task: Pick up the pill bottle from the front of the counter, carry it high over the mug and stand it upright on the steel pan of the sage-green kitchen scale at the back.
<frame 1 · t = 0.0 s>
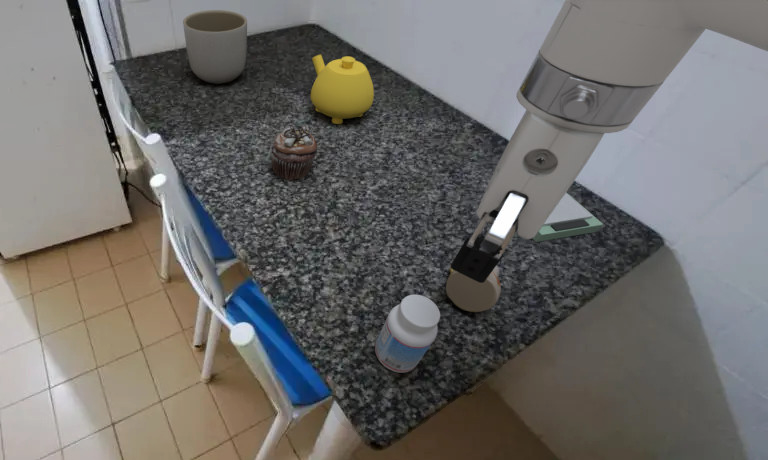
hand: (481, 244, 41), 22 cm above the table, tool pointing down, fingers open, 9 cm apart
mug: (467, 290, 63), on the table
teapot: (333, 108, 103), on the table
pill bottle: (395, 353, 55), on the table
planter: (218, 76, 115), on the table
scale: (541, 212, 76), on the table
cupcake: (291, 169, 84), on the table
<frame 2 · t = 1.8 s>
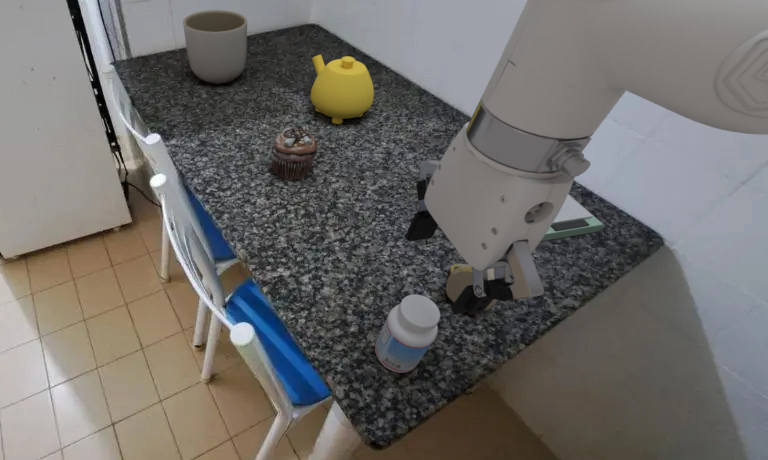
hand: (440, 270, 42), 19 cm above the table, tool pointing down, fingers open, 9 cm apart
nothing on the table moved.
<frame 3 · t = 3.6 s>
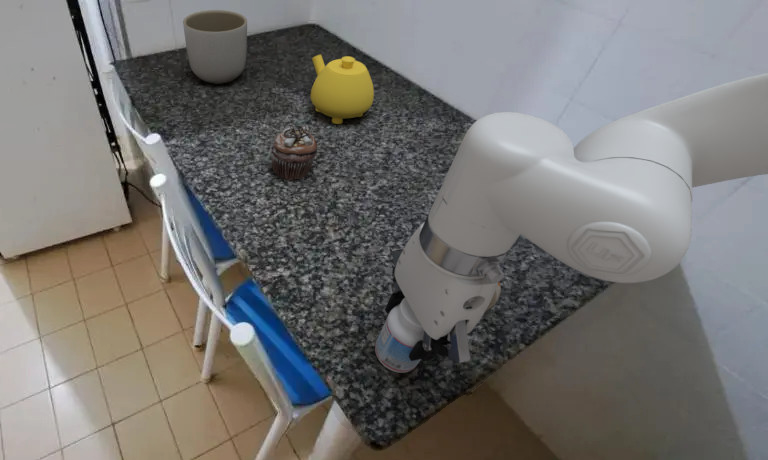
hand: (408, 331, 51), 6 cm above the table, tool pointing down, fingers closed on pill bottle, 6 cm apart
pill bottle: (395, 353, 55), on the table, touching gripper
everything else where it was.
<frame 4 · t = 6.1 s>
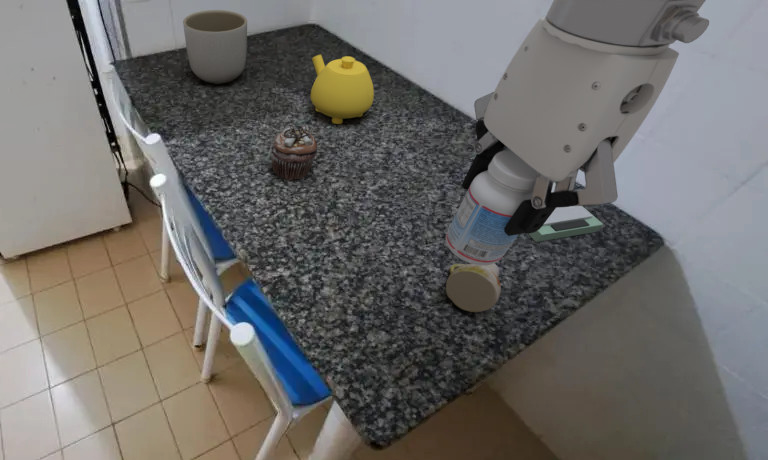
hand: (496, 206, 39), 25 cm above the table, tool pointing down, fingers closed on pill bottle, 6 cm apart
pill bottle: (471, 247, 44), point 19 cm above the table, touching gripper
everything else where it was.
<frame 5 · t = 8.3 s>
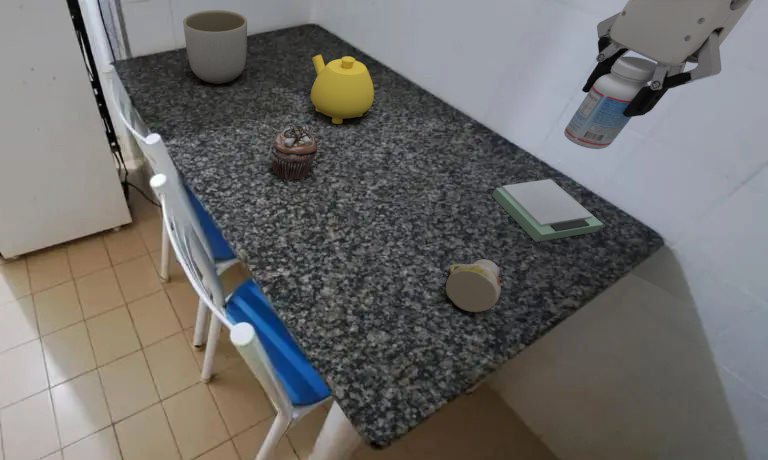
hand: (612, 101, 54), 26 cm above the table, tool pointing down, fingers closed on pill bottle, 6 cm apart
pill bottle: (584, 140, 58), point 20 cm above the table, touching gripper
everything else where it was.
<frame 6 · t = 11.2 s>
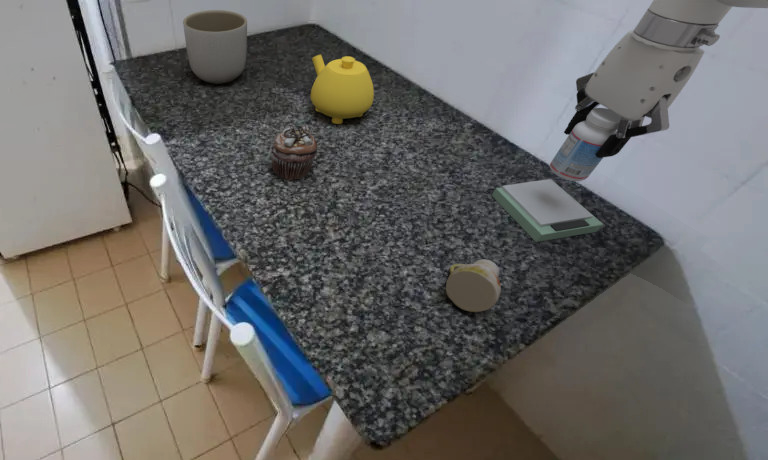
hand: (588, 143, 65), 15 cm above the table, tool pointing down, fingers closed on pill bottle, 6 cm apart
pill bottle: (566, 172, 69), point 9 cm above the table, touching gripper
everything else where it was.
when the fingers open (9 cm above the table, at t = 13.3 s): pill bottle stays where it is, resting on scale.
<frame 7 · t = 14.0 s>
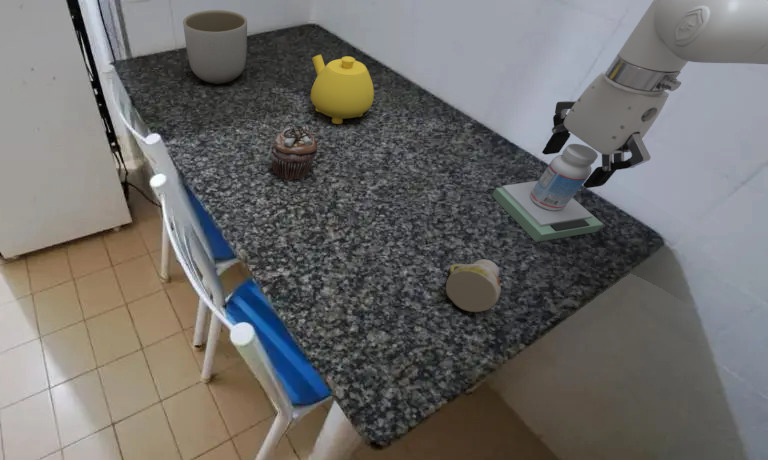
hand: (569, 168, 69), 10 cm above the table, tool pointing down, fingers open, 9 cm apart
pill bottle: (545, 201, 74), point 2 cm above the table, touching scale
everything else where it was.
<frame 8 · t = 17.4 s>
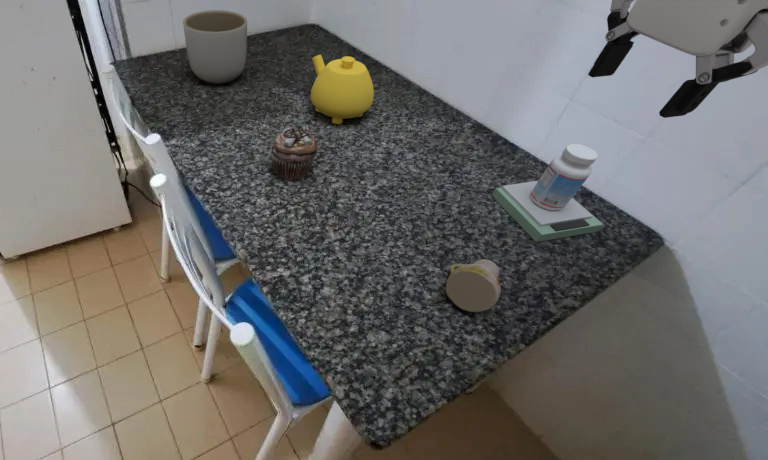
hand: (632, 94, 45), 30 cm above the table, tool pointing down, fingers open, 9 cm apart
nothing on the table moved.
at the end: pill bottle inside the target area on the scale (0.1 cm from its centre), point 2.4 cm above the scale's base; pill bottle tilted 0° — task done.
